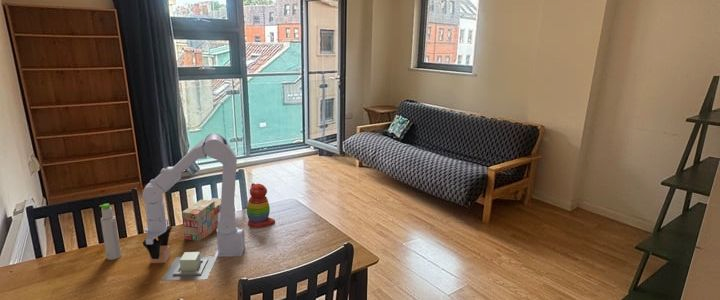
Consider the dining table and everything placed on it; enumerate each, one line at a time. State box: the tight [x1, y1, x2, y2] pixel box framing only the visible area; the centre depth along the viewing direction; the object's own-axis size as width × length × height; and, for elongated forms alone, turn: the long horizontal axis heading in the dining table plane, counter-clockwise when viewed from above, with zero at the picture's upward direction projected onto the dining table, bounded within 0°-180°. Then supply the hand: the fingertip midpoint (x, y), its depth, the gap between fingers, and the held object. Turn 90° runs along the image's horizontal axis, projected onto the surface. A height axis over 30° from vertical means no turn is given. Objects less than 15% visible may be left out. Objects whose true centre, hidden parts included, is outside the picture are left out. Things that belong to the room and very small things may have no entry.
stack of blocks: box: [182, 197, 221, 242], centre depth 163 cm, size 21×6×12 cm, turn 168°
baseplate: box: [161, 255, 218, 281], centre depth 137 cm, size 14×14×1 cm
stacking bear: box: [246, 182, 276, 229], centre depth 169 cm, size 11×10×18 cm
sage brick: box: [180, 251, 201, 272], centre depth 137 cm, size 5×5×4 cm
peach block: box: [148, 245, 172, 264], centre depth 141 cm, size 5×5×4 cm
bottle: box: [99, 203, 122, 261], centre depth 140 cm, size 4×4×20 cm
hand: (159, 252), depth 141 cm, fingers open, 7 cm apart
